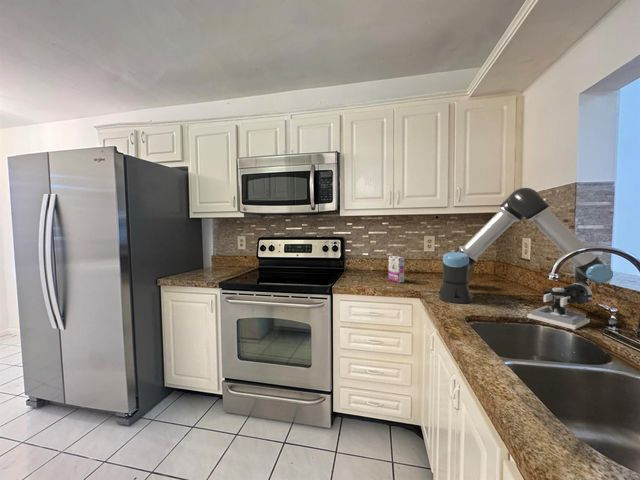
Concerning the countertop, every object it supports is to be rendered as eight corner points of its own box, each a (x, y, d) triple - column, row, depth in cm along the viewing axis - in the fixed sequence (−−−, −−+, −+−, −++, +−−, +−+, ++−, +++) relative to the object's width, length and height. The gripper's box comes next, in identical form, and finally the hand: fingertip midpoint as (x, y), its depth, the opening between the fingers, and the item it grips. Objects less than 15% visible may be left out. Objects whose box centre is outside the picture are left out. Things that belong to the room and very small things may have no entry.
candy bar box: (404, 282, 178) (405, 257, 177) (398, 283, 176) (399, 257, 175) (393, 279, 188) (394, 255, 187) (387, 279, 187) (388, 255, 185)
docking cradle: (527, 317, 113) (527, 310, 113) (543, 311, 121) (544, 304, 120) (574, 329, 100) (575, 321, 100) (589, 322, 108) (590, 314, 108)
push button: (544, 310, 114) (543, 286, 114) (557, 310, 114) (556, 286, 113) (558, 315, 107) (556, 290, 107) (572, 314, 107) (571, 289, 107)
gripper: (605, 306, 111) (583, 316, 100) (551, 296, 127) (526, 303, 115) (606, 288, 111) (584, 296, 99) (551, 280, 126) (527, 286, 115)
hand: (553, 300), depth 107 cm, fingers closed on push button, 5 cm apart
